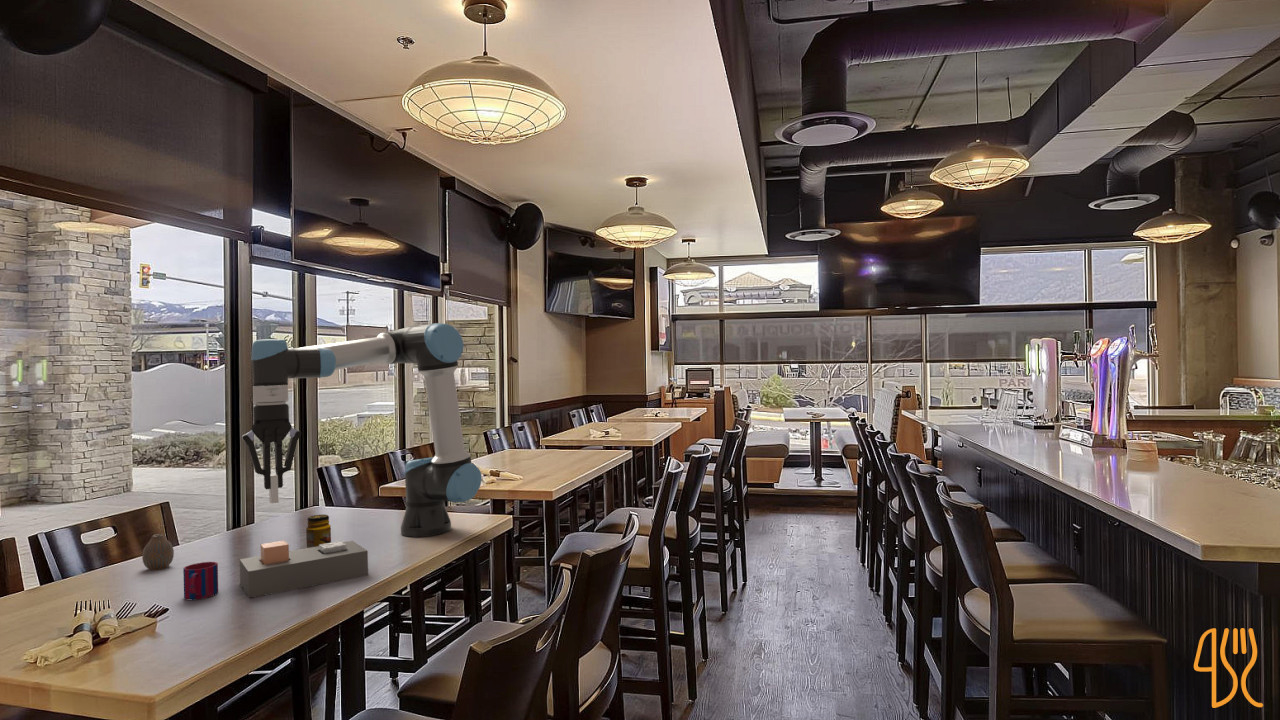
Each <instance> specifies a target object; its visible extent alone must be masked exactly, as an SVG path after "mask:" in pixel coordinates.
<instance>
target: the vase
mask: <svg viewBox="0 0 1280 720" xmlns="http://www.w3.org/2000/svg"><path fill="white" fill-rule="evenodd" d="M174 550H175V549H174V547H173V544H172V543H171V541H169V540H168V539H167V538H166V537H165V536H164V534H162V533H158V534H154V535H152V536H151V538H150V539H149V541H148V542H147V544H146V545H145V547H144V548H143V550H142V555H141V558H142V562H143V565H144V566H145V568H146V569H148V570H150V571H158V570H163V568H164V569H166V568H168V567H169V566H170V565H171V564H172V562H173V560H174V557H175V556H174V555H175V551H174Z"/></svg>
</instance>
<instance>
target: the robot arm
mask: <svg viewBox="0 0 1280 720" xmlns="http://www.w3.org/2000/svg"><path fill="white" fill-rule="evenodd" d="M464 347H465V346H464V340H463V338H462V335H461V333H460V332H459V331H458V329H456V328H455V327H454V326H452V325H451V324H449V323H442V322H441V323H439V322H438V323H437V322H435V323H430V324H419V325H411V326H406V327H404V328H400V329H396V330H391V331H388V332H381V333H379V334H378V335H377V336H376V337H375V336H374V337H368V338H361V339H354V340H353V339H351V340H346V341H339V342H331V343H324V344H317V345H309V346H303V347H295V348H293V347H288V342H287V341H286V340H285V339H277V338H276V339H274V338H273V339H271V338H270V339H256V340H254V341H253V343H252V345H251V358H250V360H251V370H252V403H253V404H255V405H254V406H253V407H252V408H253V409H252V410H253V412H252V413H253V425H252V426H251V430H250V431H249V432H246V433H245V434H242V435H241V438H240V439H242V441H243V442H244V443H245V445H246V447H247V450H248V455H249V457H250V460H251V463H252V466H253V469H254V472H255V473H256V474H257V475H262V476H263V485H264V486H263V487H264V489H265V490H269V503H270V504H277V503H279V501H280V500H279V489H281V488H283V486H284V478H283V476H284V474H285V473H287V472H289V471H291V470H292V466H293V461H294V456H295V453H296V449H297V443H298V441H299V439H300V438H301V436H302V431H301V430H298V429H295V428H294V427H292V424H291V421H290V413H289V412H290V411H289V409H290V407H289V406H290V405H289V404H288V402H289V379H308V378H309V379H311V378H312V379H313V378H315V379H317V378H318V379H321V378H327V377H330V376H333V374H334V372H335V371H336V370H343V369H349V368H355V367H361V366H368V365H372V364H373V365H374V364H379V363H382V364H384V365H392V364H393V365H394V364H414V365H415V364H417V372H418V373H420V374H421V375H422V376H423V377H424V382H425V383H424V384H425V389H426V396H427V403H428V410H429V417H430V424H431V425H430V426H431V432H432V439H433V447H434V452H435V454H434V456H432V457H426V458H419V459H418V458H417V459H412V460H408V461H407V462H406V463H405V466H404V467H405V469H404V479H405V481H404V482H405V484H404V485H405V511H404V516H403V519H402V522H401V525H400V534H401V535H402V536H405V537H411V536H412V537H413V538H415V537H416V538H417V536H421V537H431V536H436V535H442V534H444V533H448V532H450V531H451V530H452V521H451V519H450V516H449V513H448V511H447V508H446V502H449V503H450V502H451V503H465V502H468V501H470V500H472V499H474V497H475V496H476V495H477V492H478V491H479V490H480V488H481V485H482V472H481V470H480V468H479V467H477V465H476V464H474V463H472V457H471V453H469V452H468V451H466V450H465V441H464V438H463V437H464V435H463V429H462V422H461V415H460V408H459V407H460V406H459V398H458V391H457V386H456V385H457V384H456V377H455V371H456V370H457V369H458V368H459V362H458V360H460V358H461V357H462V354H463V352H464ZM288 434H289V437H290V440H289V442H288V447H287V451H286V456H285V460H284V461H283V441H284V440H285V438H286V437H287V435H288ZM254 435H255V437H257V438H258V440H259V441H260V442H261V443H262V444H261V446H262V466H261V462H260V460H259V455H258V453H257V450H256V449H257V448H256V446H255V444H254V442H253V441H254V440H255V437H254ZM271 443H273V445H274V464H275V465H274V466H275V467H274V469H275V474H271V473H272V470H271V469H272V468H271V466H272V465H271V464H272V463H271ZM283 462H284V463H283ZM283 464H284V465H283ZM412 537H411V538H412Z"/></svg>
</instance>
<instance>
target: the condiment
mask: <svg viewBox="0 0 1280 720" xmlns="http://www.w3.org/2000/svg"><path fill="white" fill-rule="evenodd" d="M331 530H332V528H331V525H330V516H329V515H328V514H315V515H310V516H308V518H307V527H306V529H305V532H306V534H305V535H306V537H305V538H306V548H311V547H317V546H319V545H320V544H326V543H332V531H331Z"/></svg>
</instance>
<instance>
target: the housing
mask: <svg viewBox="0 0 1280 720" xmlns="http://www.w3.org/2000/svg"><path fill="white" fill-rule="evenodd" d="M342 542H343V543H344V544H346V551H341V552H335V553H329V554H321V553H320V552H319V546H317V547H311V548H307V547H305V548H299V549H293V550H289V560H288V561H282V562H277V563H271V564H265V565H263V564H262V563H261V555H256V556H252V557H251V556H250V557H245V558H240V559H239V581H240V582H239V584H240V586H241V585H242V586H241V588H242V587H243V588H242V589H243V591H244V590H245V591H244V593H245V592H246V593H247V594H246V593H245V594H246V596H247V595H248V596H247V597H248V599H251V598H250V597H253V598H255V597H254V596H258V597H261V596H260V595H263V596H266V595H265V594H268V595H272V594H271V593H273V594H277V593H282V592H288V591H292V590H297V588H299V589H303V587H304V588H308V587H307V586H309V587H312V585H314V586H318V584H319V585H323V583H324V584H329V583H333V581H334V582H339V581H344V580H349V579H354V578H360V577H365V576H369V557H368V554H369V552H368V551H369V550H367V549H366V548H365V547H362V546H361V545H360V544H358V543H357V542H355V541H354V540H348V541H342ZM338 580H339V581H338ZM287 590H288V591H287Z"/></svg>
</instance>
